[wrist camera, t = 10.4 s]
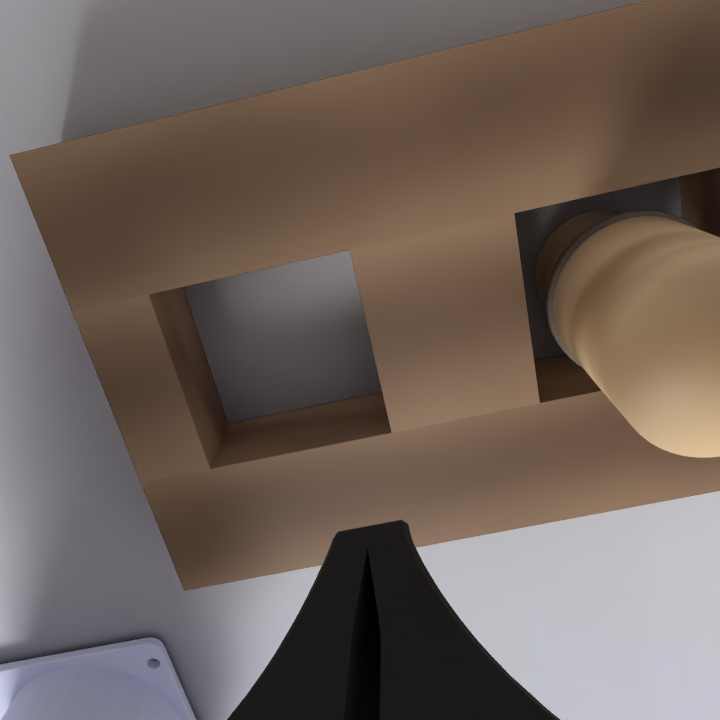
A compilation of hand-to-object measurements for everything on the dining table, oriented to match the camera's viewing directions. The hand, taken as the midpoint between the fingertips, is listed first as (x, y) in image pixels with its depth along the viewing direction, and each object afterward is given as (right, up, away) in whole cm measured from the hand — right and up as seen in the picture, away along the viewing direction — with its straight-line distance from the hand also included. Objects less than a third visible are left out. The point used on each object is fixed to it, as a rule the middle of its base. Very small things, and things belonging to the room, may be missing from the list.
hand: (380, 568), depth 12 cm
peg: (+7, +7, +8) cm, 13 cm away
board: (+2, +6, +9) cm, 11 cm away
